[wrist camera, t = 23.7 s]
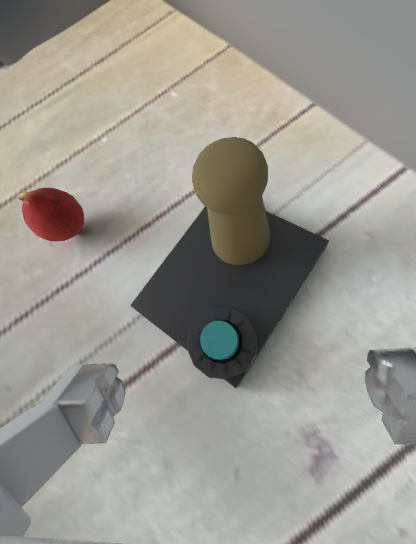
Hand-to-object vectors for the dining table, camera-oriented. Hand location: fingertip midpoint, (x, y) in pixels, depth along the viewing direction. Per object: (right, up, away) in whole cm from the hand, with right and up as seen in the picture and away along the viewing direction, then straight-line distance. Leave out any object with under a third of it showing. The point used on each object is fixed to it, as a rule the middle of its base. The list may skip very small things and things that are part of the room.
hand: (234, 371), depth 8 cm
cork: (+3, +7, +18) cm, 19 cm away
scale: (+1, +3, +18) cm, 18 cm away
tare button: (0, -3, +14) cm, 14 cm away
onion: (-17, +8, +24) cm, 31 cm away
